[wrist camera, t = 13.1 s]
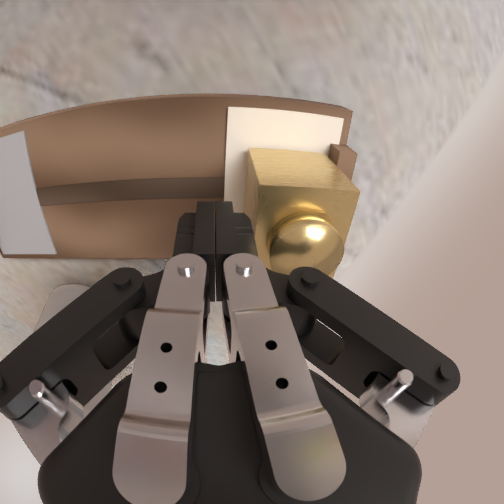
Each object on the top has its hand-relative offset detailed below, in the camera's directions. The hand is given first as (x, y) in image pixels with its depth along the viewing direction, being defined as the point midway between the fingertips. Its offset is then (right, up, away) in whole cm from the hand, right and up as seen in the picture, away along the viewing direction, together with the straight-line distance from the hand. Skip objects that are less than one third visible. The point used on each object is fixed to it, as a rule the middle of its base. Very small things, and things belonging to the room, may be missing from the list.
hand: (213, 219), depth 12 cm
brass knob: (+3, +2, +3) cm, 5 cm away
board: (-6, +3, +3) cm, 8 cm away
